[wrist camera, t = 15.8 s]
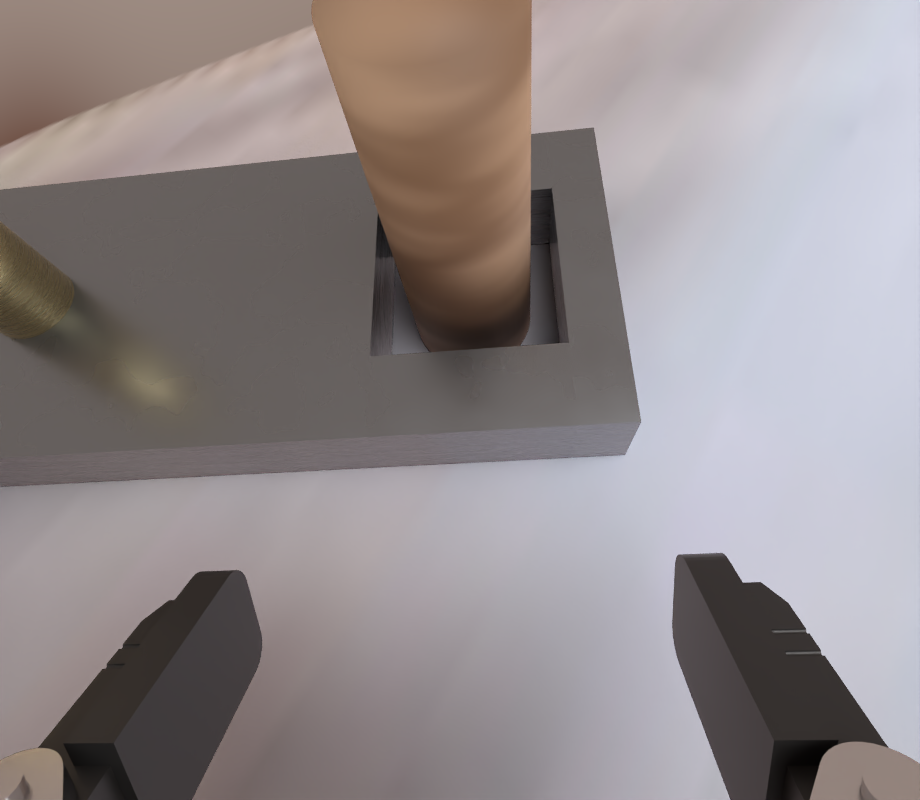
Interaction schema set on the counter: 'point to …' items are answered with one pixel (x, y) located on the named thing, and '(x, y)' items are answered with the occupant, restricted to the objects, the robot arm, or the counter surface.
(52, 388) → the bolt plate
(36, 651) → the counter surface
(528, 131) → the walnut peg
